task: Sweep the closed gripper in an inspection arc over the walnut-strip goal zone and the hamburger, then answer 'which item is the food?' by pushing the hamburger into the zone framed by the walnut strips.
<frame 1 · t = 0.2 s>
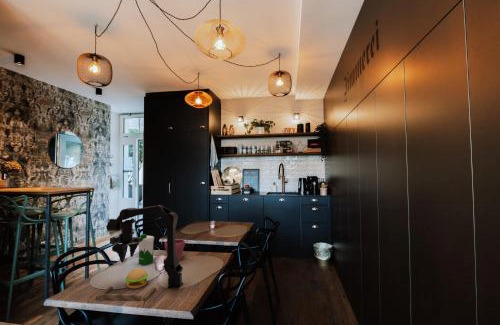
hand: (127, 259, 141), 14 cm above the table, fingers open, 9 cm apart
milk carton: (146, 263, 176), on the table
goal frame: (127, 294, 130), on the table
hamburger: (137, 285, 141), on the table
plant pot: (174, 259, 184), on the table
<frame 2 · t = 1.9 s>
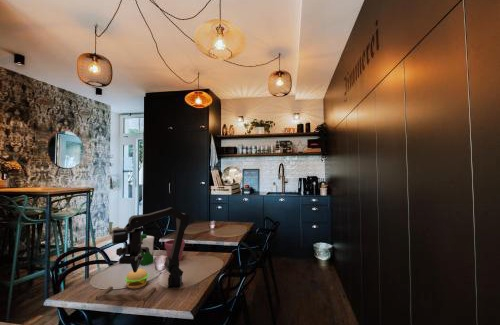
hand: (135, 272, 128), 12 cm above the table, fingers closed
nothing on the table moved.
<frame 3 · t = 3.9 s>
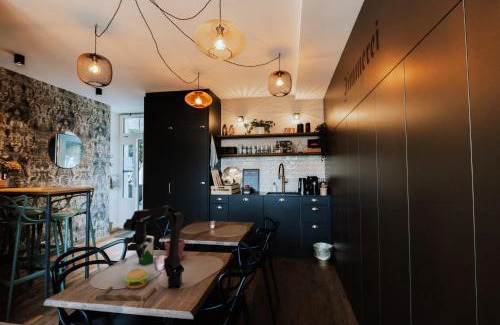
hand: (139, 258, 149), 12 cm above the table, fingers closed
nothing on the table moved.
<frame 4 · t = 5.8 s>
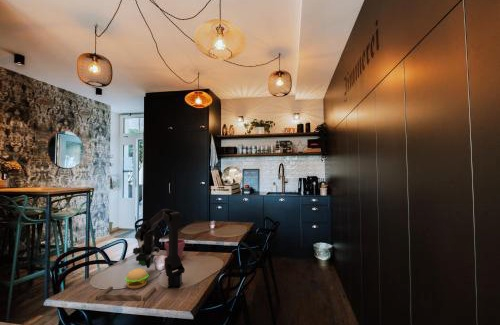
hand: (148, 268, 154), 5 cm above the table, fingers closed
nothing on the table moved.
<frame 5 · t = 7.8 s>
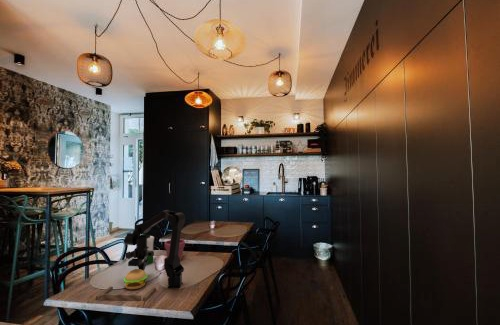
hand: (141, 273, 146), 5 cm above the table, fingers closed
hamburger: (135, 286, 140), on the table, touching gripper
everything else where it was.
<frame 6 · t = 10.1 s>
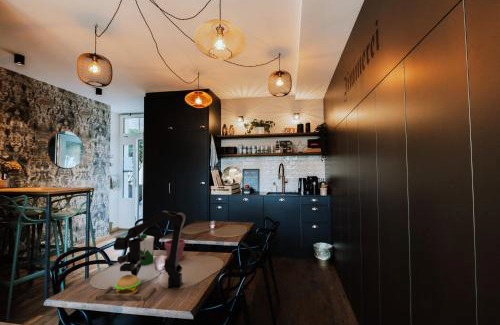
hand: (134, 278, 139), 5 cm above the table, fingers closed
hamburger: (127, 292, 132), on the table, touching gripper
everything else where it was.
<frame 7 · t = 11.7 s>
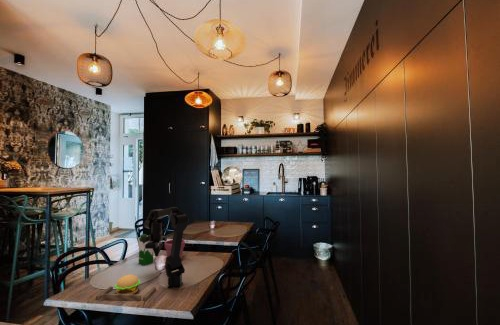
hand: (156, 256, 153), 12 cm above the table, fingers closed
hamburger: (127, 292, 132), on the table
everything else where it was.
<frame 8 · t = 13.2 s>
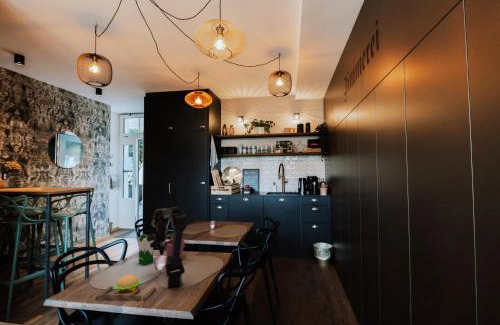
hand: (161, 255, 155), 12 cm above the table, fingers closed
nothing on the table moved.
at the end: hamburger inside the target area (2.5 cm from its centre), on the table; hamburger moved 8.8 cm from its start; hamburger tilted 0° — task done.
